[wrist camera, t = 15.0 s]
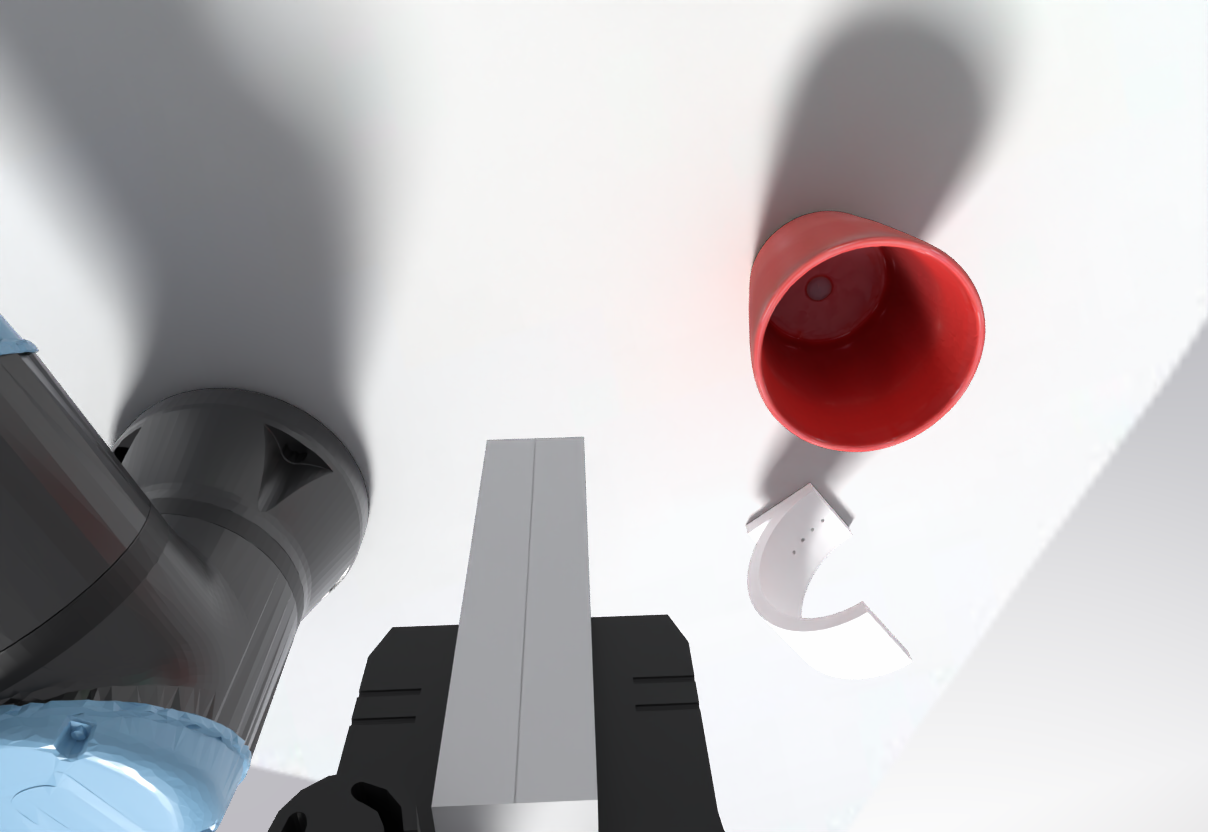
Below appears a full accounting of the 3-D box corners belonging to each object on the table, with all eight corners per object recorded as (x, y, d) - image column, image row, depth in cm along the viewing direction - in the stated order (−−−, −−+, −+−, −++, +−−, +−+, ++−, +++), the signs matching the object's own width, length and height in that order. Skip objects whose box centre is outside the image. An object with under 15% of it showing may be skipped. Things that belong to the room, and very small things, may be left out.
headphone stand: (849, 527, 57) (913, 662, 47) (772, 576, 59) (817, 717, 49) (810, 481, 56) (867, 611, 45) (731, 533, 57) (769, 670, 47)
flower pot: (733, 384, 52) (767, 473, 44) (709, 201, 47) (741, 262, 38) (915, 350, 52) (984, 434, 43) (911, 161, 46) (989, 214, 38)
